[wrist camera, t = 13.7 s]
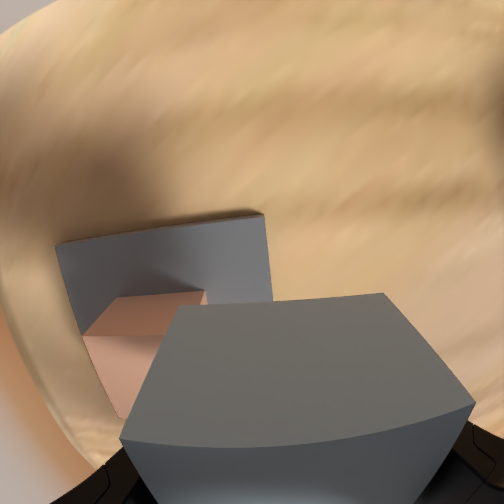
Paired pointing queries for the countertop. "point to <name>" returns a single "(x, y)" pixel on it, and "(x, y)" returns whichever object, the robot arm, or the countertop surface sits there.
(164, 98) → the countertop surface
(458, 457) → the robot arm
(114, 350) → the terracotta brick
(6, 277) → the countertop surface
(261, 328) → the slate-grey brick
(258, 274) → the base plate
